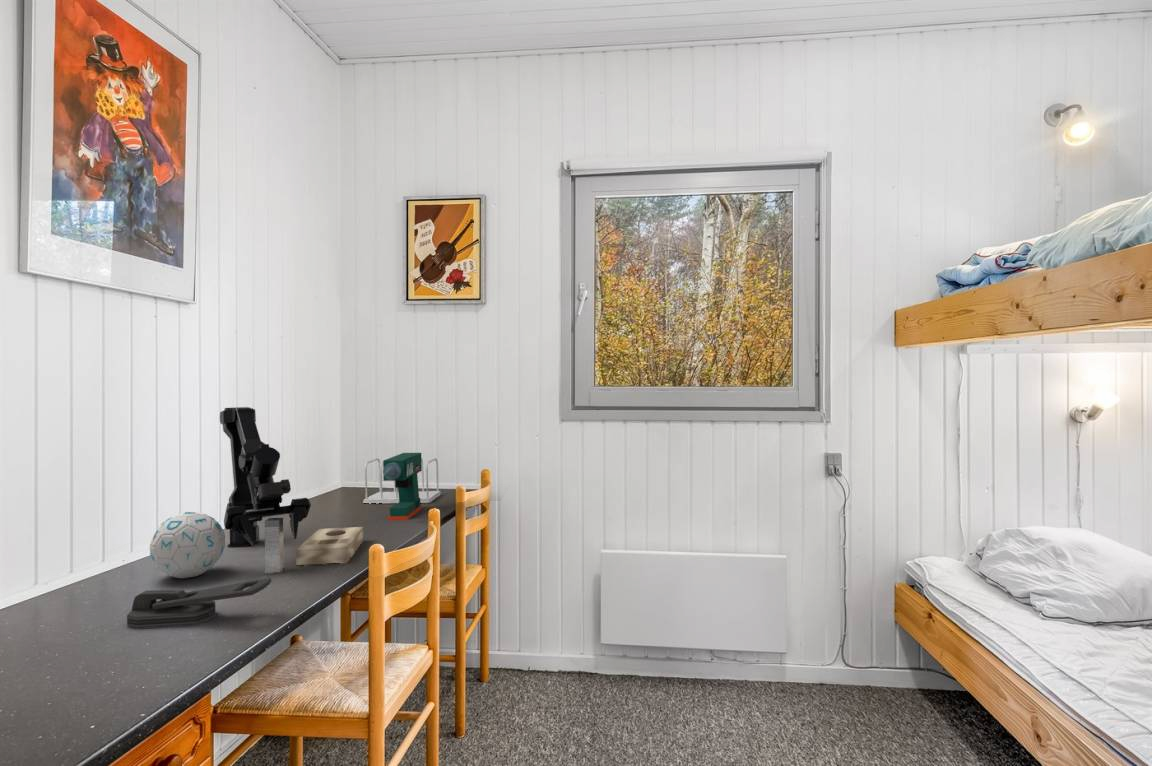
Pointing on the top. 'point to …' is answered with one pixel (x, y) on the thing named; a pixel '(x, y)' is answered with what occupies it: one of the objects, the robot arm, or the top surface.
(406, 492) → the power tool
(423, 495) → the file sorter
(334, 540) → the bore board
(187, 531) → the puzzle ball
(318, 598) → the top surface
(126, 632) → the top surface
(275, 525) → the square bit
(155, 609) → the zipper pull
